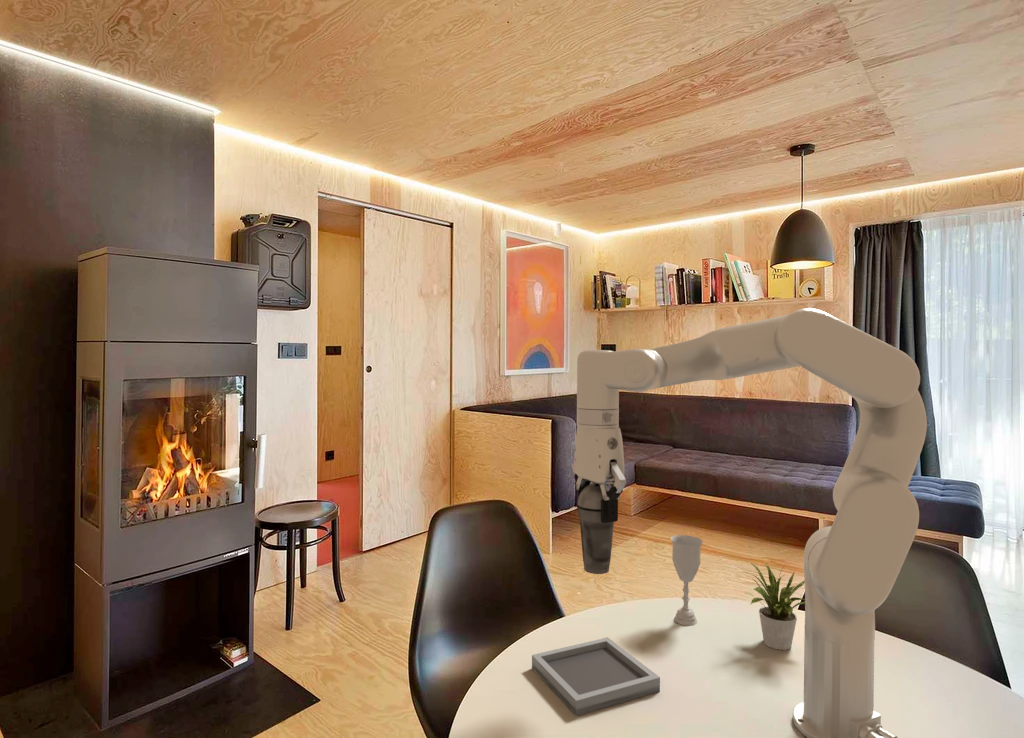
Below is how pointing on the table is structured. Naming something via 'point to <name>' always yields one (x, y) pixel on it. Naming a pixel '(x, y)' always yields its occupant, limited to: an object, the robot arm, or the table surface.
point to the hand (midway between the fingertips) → (596, 515)
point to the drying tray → (594, 675)
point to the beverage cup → (594, 531)
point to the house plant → (777, 611)
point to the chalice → (686, 571)
